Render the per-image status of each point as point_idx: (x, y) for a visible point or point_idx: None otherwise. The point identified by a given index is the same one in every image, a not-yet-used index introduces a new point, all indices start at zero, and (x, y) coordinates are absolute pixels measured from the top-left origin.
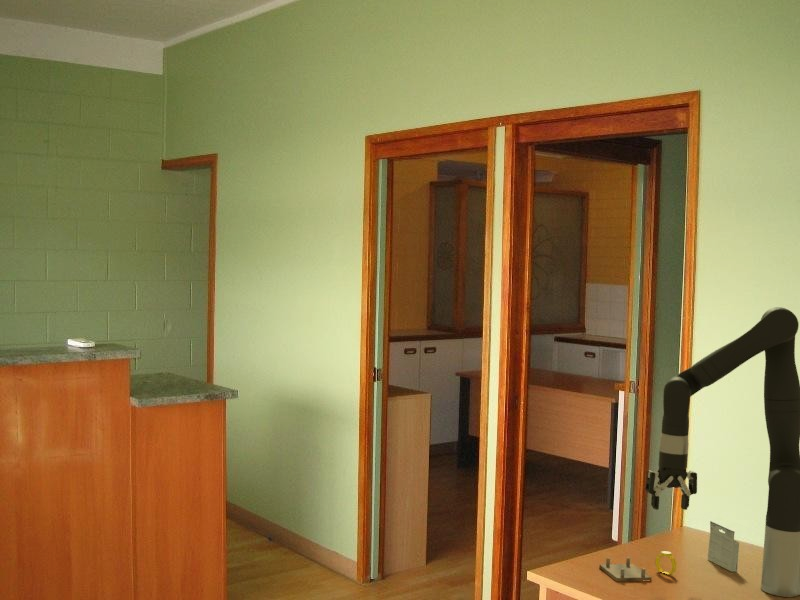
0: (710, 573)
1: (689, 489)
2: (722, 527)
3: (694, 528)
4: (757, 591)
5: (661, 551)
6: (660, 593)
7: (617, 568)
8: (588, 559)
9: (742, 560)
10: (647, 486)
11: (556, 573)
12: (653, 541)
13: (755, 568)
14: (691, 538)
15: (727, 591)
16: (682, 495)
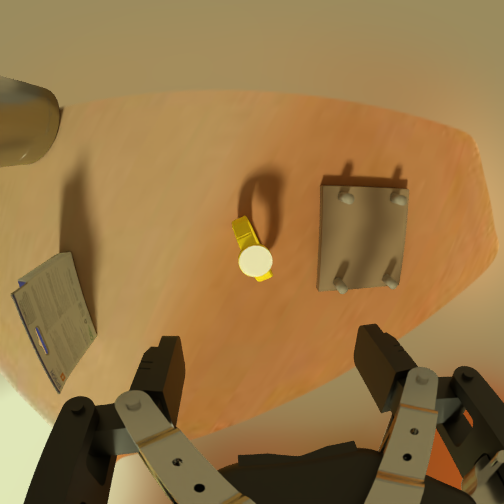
0: (121, 244)
1: (113, 446)
2: (34, 345)
3: None
4: (71, 117)
5: (266, 272)
6: (338, 99)
7: (375, 257)
8: None
9: None
10: (462, 427)
11: (476, 247)
12: None
13: (22, 276)
14: None
15: (143, 107)
16: (172, 422)
